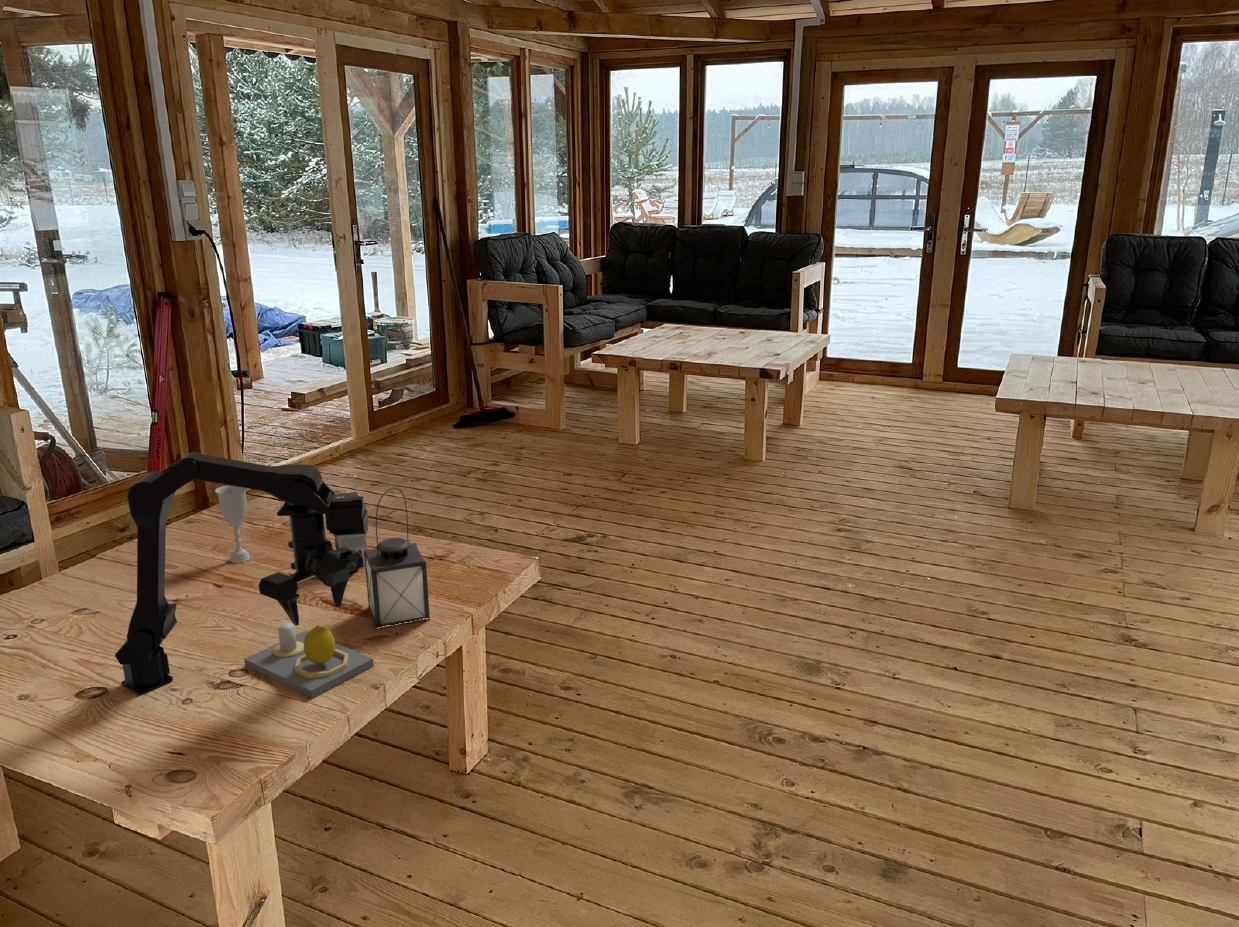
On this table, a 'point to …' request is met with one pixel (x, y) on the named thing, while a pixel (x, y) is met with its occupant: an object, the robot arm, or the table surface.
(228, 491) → the chalice
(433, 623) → the table surface
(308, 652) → the lemon
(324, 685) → the board
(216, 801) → the table surface
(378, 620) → the lantern
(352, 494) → the coffee box
